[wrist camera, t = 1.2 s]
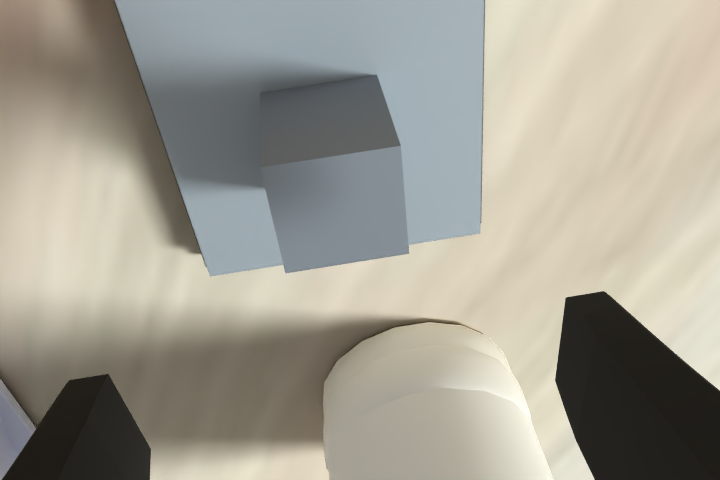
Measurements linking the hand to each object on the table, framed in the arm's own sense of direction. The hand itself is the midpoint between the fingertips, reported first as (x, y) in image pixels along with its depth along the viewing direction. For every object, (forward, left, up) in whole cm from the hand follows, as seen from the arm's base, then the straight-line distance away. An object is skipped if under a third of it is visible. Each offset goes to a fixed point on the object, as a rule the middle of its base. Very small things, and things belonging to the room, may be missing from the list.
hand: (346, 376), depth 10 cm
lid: (0, 0, -9) cm, 9 cm away
